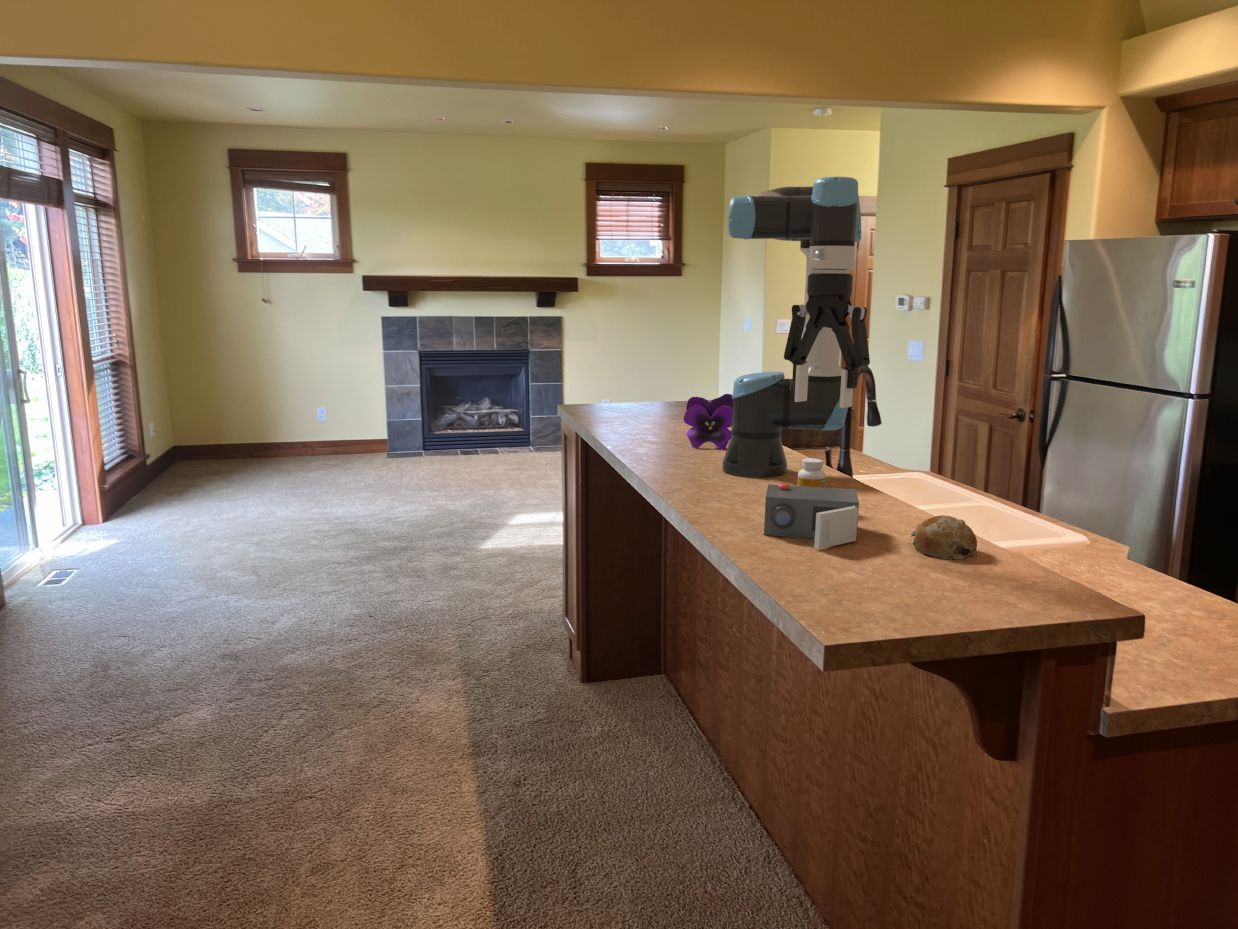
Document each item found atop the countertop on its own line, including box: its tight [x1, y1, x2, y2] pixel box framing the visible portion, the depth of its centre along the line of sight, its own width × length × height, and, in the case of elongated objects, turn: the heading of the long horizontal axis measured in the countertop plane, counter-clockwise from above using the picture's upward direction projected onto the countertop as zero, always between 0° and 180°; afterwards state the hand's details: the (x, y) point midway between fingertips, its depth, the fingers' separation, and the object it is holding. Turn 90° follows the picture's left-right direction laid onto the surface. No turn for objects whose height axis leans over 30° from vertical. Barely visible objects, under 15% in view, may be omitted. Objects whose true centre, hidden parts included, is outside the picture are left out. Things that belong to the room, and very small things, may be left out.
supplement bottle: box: [796, 457, 826, 488], centre depth 177 cm, size 5×5×10 cm
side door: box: [813, 504, 860, 550], centre depth 152 cm, size 2×10×6 cm, turn 123°
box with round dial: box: [763, 483, 860, 539], centre depth 161 cm, size 12×16×8 cm
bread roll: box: [910, 514, 978, 561], centre depth 150 cm, size 10×10×8 cm
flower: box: [683, 393, 733, 450], centre depth 244 cm, size 15×15×14 cm
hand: (822, 403), depth 156 cm, fingers open, 9 cm apart
